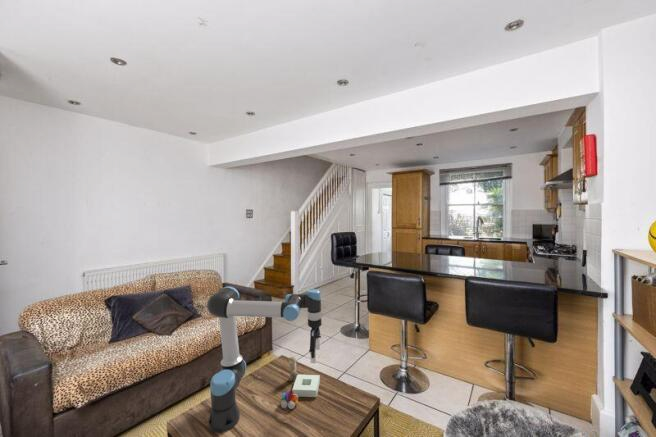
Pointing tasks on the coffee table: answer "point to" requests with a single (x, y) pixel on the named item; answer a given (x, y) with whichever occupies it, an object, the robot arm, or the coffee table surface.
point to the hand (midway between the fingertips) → (315, 355)
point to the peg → (292, 368)
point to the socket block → (306, 385)
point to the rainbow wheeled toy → (289, 400)
